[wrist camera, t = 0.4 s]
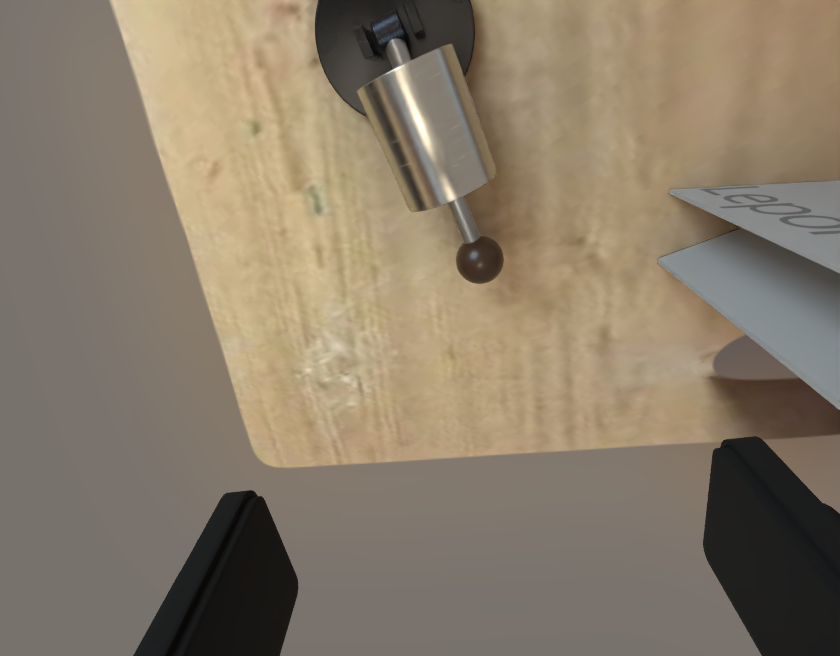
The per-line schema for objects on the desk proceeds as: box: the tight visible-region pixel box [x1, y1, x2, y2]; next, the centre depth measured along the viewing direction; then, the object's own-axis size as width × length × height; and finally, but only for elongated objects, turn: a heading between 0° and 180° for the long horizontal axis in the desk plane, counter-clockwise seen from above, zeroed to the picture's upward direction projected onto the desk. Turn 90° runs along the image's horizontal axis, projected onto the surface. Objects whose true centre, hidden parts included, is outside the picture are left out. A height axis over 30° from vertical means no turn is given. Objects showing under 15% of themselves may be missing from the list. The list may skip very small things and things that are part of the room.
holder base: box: [315, 0, 475, 117], centre depth 28 cm, size 10×10×5 cm
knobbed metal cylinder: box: [357, 8, 504, 284], centre depth 30 cm, size 17×6×6 cm, turn 24°
